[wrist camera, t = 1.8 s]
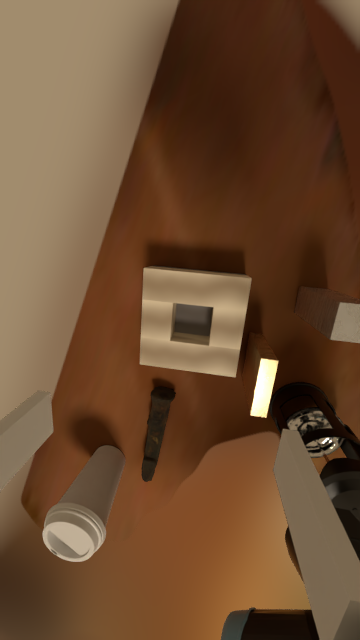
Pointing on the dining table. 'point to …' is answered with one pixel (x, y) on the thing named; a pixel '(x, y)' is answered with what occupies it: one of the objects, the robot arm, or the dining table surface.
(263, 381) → the beige rectangular slab
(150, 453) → the hand tool
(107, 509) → the coffee cup
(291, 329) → the dining table surface
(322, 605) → the robot arm
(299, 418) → the french press
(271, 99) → the dining table surface
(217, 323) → the bore block
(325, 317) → the square bit
